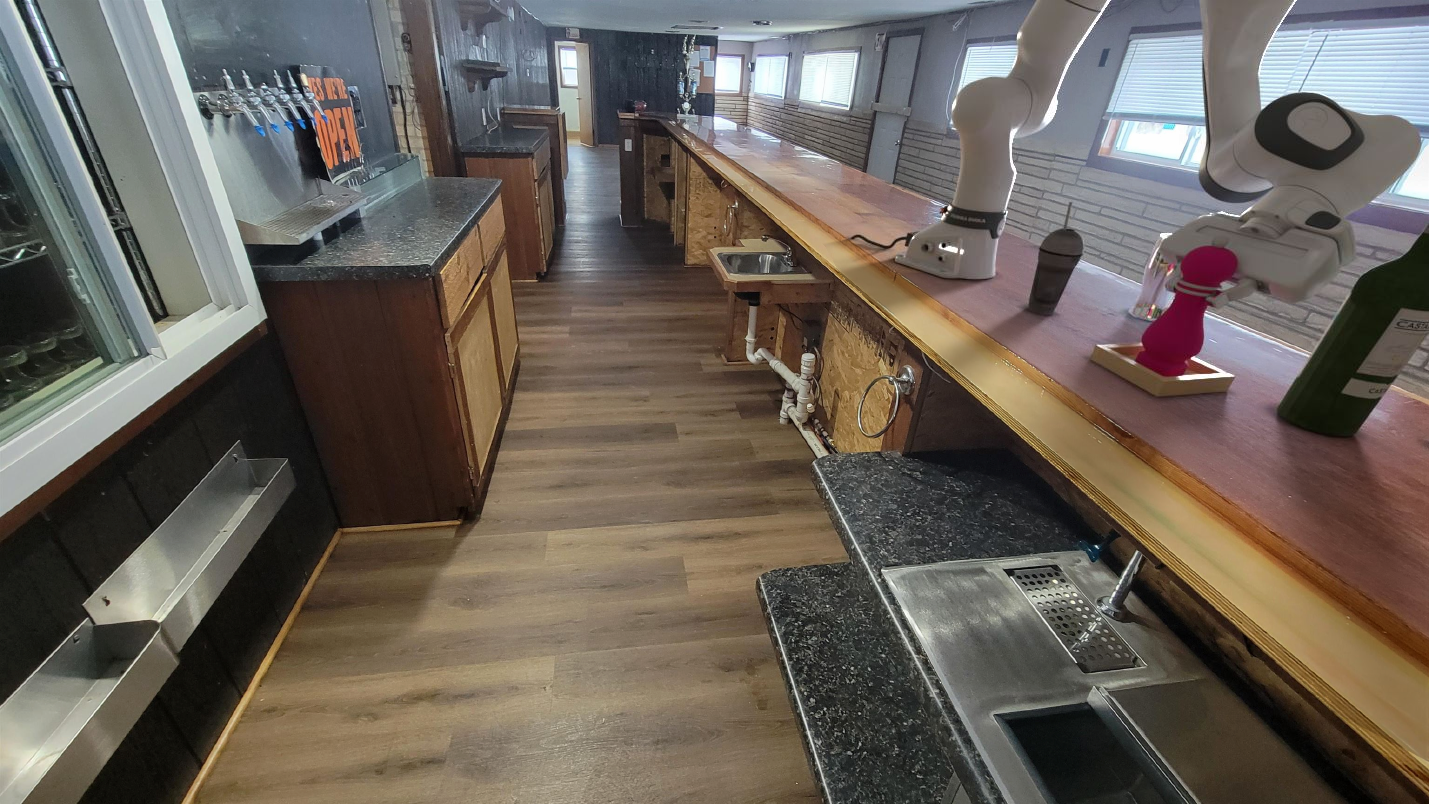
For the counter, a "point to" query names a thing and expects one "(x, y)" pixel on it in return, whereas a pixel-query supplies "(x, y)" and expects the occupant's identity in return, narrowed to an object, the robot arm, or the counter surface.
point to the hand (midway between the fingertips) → (1189, 297)
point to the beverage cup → (1055, 267)
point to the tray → (1192, 382)
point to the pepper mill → (1187, 310)
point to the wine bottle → (1363, 346)
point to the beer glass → (1154, 286)
